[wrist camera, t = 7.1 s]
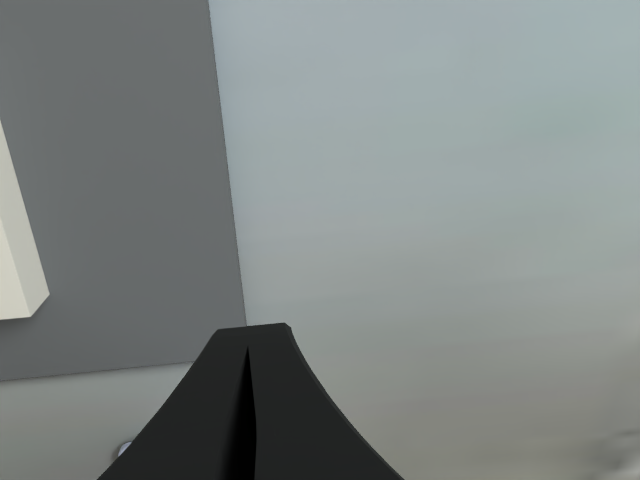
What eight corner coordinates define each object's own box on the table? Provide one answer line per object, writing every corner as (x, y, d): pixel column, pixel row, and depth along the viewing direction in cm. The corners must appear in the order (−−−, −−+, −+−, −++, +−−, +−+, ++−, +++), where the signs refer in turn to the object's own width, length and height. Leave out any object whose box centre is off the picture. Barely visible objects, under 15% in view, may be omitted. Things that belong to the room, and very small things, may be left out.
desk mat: (249, 347, 21) (248, 355, 20) (-112, 382, 19) (-123, 393, 19) (194, -116, 15) (191, -122, 14) (-333, -103, 13) (-359, -109, 13)
